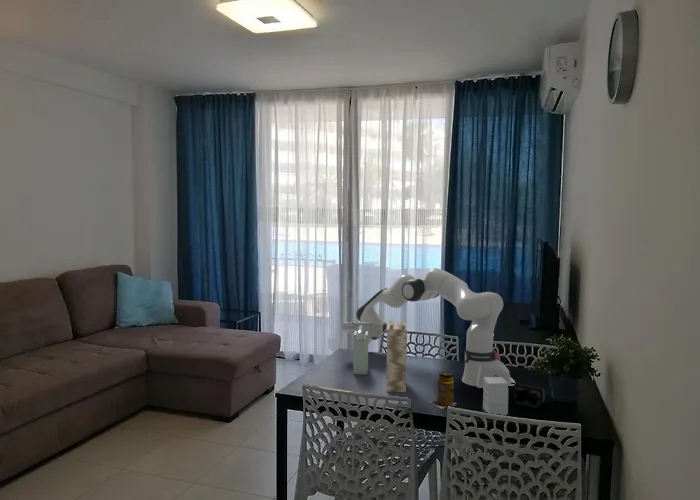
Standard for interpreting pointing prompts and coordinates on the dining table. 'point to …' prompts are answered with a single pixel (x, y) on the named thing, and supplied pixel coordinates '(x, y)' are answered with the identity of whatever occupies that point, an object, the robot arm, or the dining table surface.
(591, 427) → the dining table surface
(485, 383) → the supplement box
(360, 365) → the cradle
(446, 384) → the condiment
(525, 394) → the end cap
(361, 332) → the axle
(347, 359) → the dining table surface
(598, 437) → the dining table surface
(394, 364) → the block
